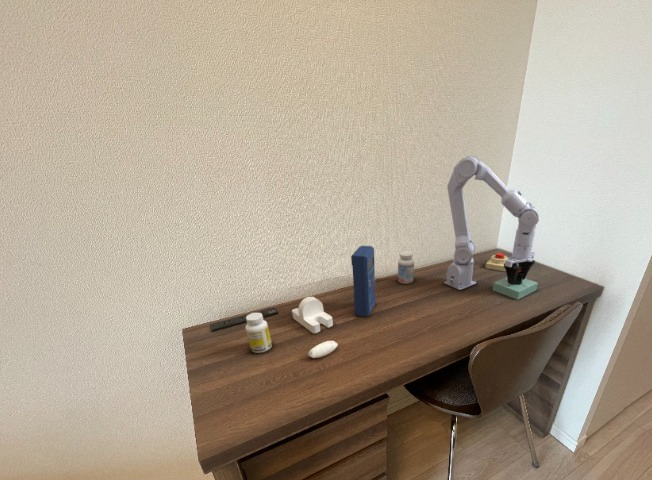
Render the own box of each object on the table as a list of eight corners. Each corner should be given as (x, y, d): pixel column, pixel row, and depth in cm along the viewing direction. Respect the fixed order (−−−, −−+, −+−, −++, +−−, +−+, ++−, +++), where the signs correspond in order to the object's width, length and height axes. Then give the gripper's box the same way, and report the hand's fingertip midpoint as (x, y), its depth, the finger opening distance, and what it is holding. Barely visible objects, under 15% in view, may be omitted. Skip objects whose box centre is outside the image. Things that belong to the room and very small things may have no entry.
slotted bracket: (334, 325, 96) (331, 302, 92) (314, 334, 92) (310, 310, 88) (311, 310, 104) (308, 288, 101) (292, 317, 100) (288, 295, 97)
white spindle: (307, 357, 82) (306, 348, 81) (333, 345, 87) (332, 336, 85) (313, 363, 80) (312, 353, 79) (340, 350, 85) (339, 341, 83)
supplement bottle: (264, 339, 90) (258, 309, 85) (276, 346, 86) (269, 315, 82) (247, 348, 86) (238, 317, 81) (258, 356, 83) (250, 323, 78)
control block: (504, 271, 131) (506, 262, 129) (485, 268, 135) (486, 259, 133) (510, 264, 138) (512, 255, 137) (492, 260, 142) (493, 252, 141)
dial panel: (517, 299, 109) (519, 291, 107) (492, 290, 116) (493, 282, 114) (536, 290, 115) (538, 282, 114) (511, 281, 122) (513, 273, 121)
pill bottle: (395, 279, 125) (395, 252, 120) (408, 276, 128) (409, 249, 123) (402, 285, 120) (402, 257, 115) (416, 282, 123) (417, 254, 118)
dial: (517, 285, 111) (519, 274, 110) (507, 282, 114) (509, 271, 112) (524, 282, 114) (526, 271, 112) (514, 279, 116) (516, 268, 114)
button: (502, 260, 133) (503, 256, 132) (494, 258, 135) (494, 254, 134) (505, 257, 136) (505, 253, 135) (496, 256, 137) (497, 252, 136)
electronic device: (369, 317, 100) (367, 256, 91) (354, 315, 101) (350, 255, 92) (376, 303, 108) (374, 246, 99) (361, 302, 109) (358, 245, 100)
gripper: (521, 251, 101) (514, 290, 107) (545, 242, 109) (537, 279, 115) (502, 246, 106) (496, 283, 112) (526, 238, 114) (519, 273, 120)
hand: (516, 281), depth 114 cm, fingers open, 6 cm apart
